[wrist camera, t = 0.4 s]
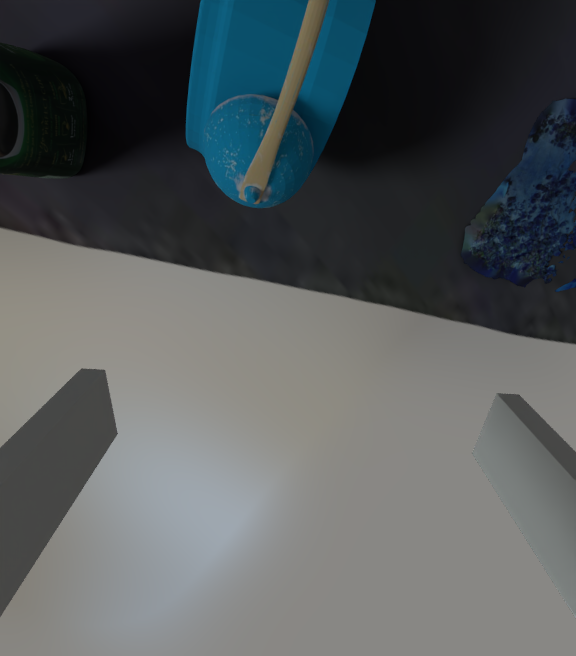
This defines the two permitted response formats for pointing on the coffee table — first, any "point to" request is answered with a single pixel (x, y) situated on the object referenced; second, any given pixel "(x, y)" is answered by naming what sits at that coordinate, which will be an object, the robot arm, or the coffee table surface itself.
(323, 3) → the alarm clock
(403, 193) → the coffee table surface
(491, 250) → the rock
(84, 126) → the coffee jar
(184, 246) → the coffee table surface
